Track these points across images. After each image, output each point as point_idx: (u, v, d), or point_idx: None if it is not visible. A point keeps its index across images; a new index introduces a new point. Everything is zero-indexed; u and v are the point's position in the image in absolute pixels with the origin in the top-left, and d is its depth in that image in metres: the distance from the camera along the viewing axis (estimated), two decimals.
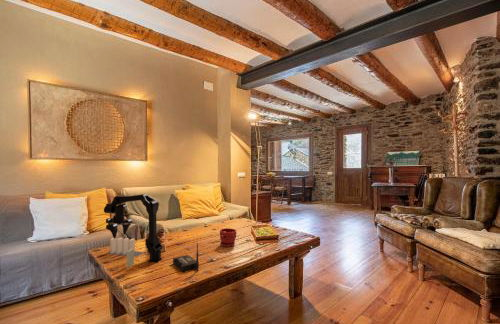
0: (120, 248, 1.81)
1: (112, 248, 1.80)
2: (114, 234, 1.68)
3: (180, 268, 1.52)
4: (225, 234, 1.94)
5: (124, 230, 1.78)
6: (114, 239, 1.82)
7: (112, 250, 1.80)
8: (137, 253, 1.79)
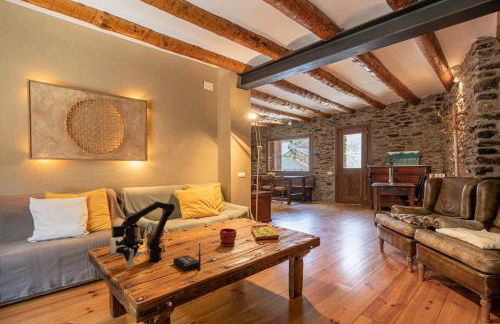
0: None
1: (112, 248, 1.80)
2: (127, 257, 1.54)
3: (182, 268, 1.52)
4: (225, 234, 1.94)
5: None
6: (114, 239, 1.82)
7: (112, 250, 1.80)
8: (137, 253, 1.79)
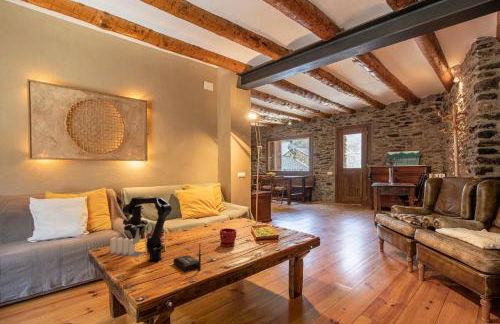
0: (120, 248, 1.81)
1: (112, 248, 1.80)
2: (133, 234, 1.71)
3: (182, 268, 1.52)
4: (225, 234, 1.94)
5: None
6: (114, 239, 1.82)
7: (112, 250, 1.80)
8: (137, 253, 1.79)
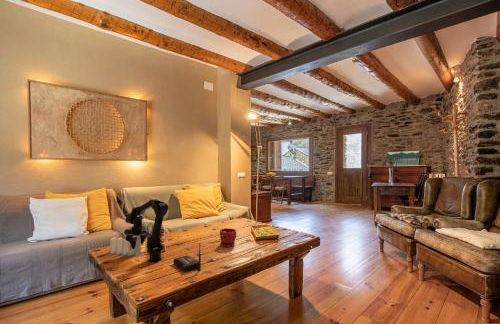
0: (120, 248, 1.81)
1: (112, 248, 1.80)
2: (133, 245, 1.72)
3: (182, 268, 1.52)
4: (225, 234, 1.94)
5: (142, 241, 1.82)
6: (114, 239, 1.82)
7: (112, 250, 1.80)
8: None
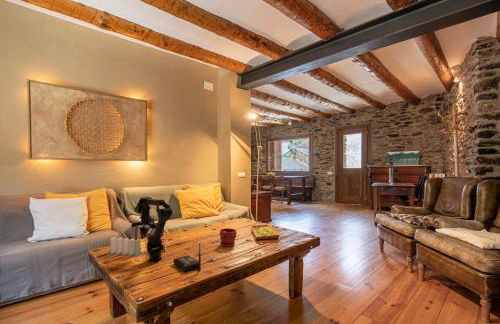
0: (120, 248, 1.81)
1: (112, 248, 1.80)
2: None
3: (182, 268, 1.52)
4: (225, 234, 1.94)
5: None
6: (114, 239, 1.82)
7: (112, 250, 1.80)
8: None
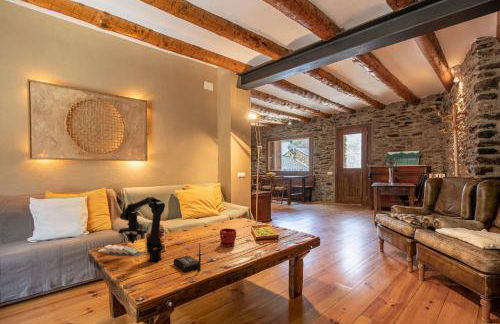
0: None
1: (106, 250, 1.81)
2: None
3: (182, 269, 1.51)
4: (225, 234, 1.94)
5: None
6: (101, 249, 1.84)
7: None
8: (137, 253, 1.79)
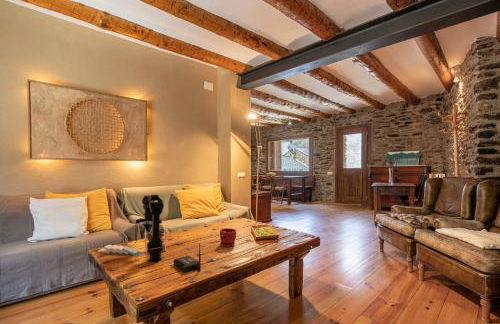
0: None
1: (106, 250, 1.81)
2: None
3: (182, 269, 1.51)
4: (225, 234, 1.94)
5: None
6: (101, 249, 1.84)
7: None
8: (137, 253, 1.79)
